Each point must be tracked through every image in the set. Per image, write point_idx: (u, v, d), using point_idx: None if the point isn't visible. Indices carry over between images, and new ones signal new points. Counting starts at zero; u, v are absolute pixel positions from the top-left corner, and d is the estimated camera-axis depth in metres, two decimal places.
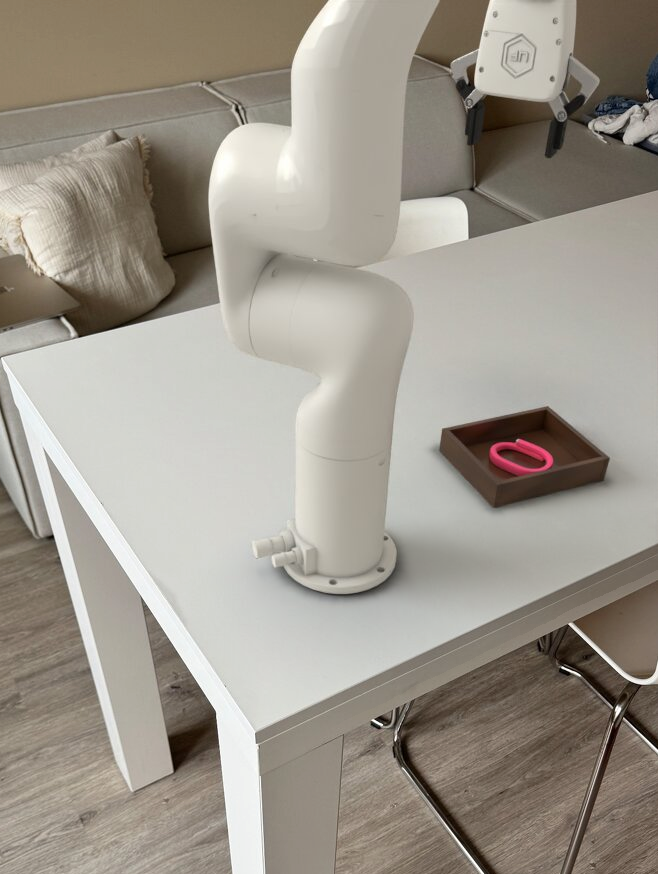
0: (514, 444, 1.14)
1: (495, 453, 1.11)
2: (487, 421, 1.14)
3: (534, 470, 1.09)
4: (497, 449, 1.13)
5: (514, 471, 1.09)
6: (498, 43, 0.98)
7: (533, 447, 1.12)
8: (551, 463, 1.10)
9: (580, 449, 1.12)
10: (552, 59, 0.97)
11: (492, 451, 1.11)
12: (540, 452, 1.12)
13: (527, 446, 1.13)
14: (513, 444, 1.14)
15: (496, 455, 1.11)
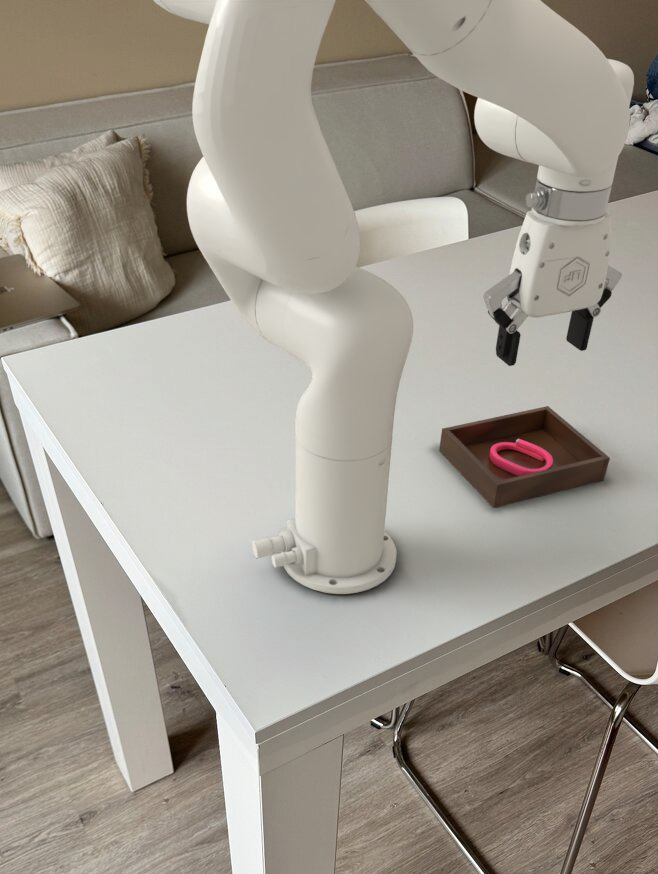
0: (514, 444, 1.14)
1: (495, 453, 1.11)
2: (487, 421, 1.14)
3: (534, 470, 1.09)
4: (497, 449, 1.13)
5: (514, 471, 1.09)
6: (554, 270, 0.93)
7: (533, 447, 1.12)
8: (551, 463, 1.10)
9: (580, 449, 1.12)
10: (601, 269, 0.95)
11: (492, 451, 1.11)
12: (540, 452, 1.12)
13: (527, 446, 1.13)
14: (513, 444, 1.14)
15: (496, 455, 1.11)
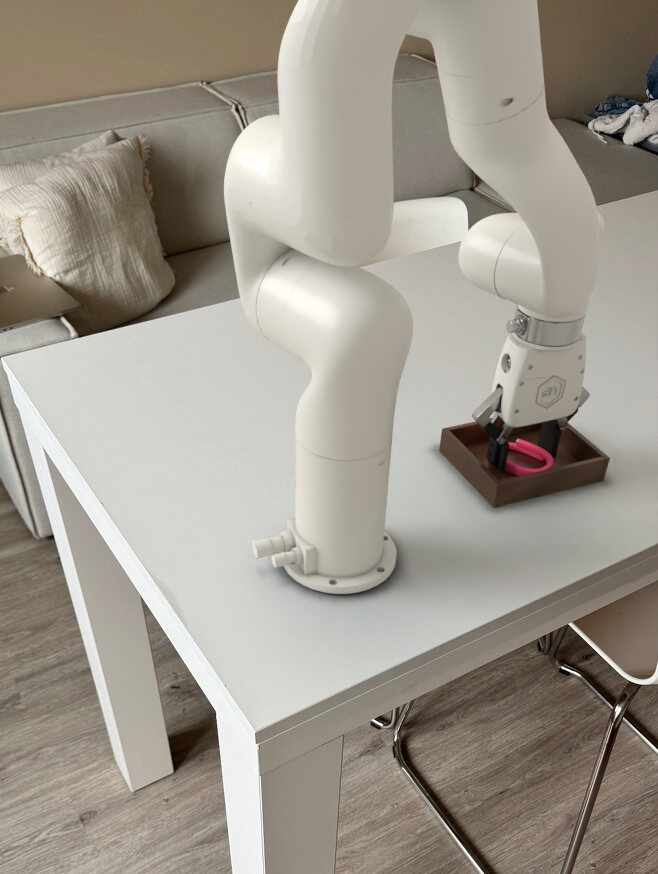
0: (514, 444, 1.14)
1: None
2: None
3: (534, 470, 1.09)
4: None
5: (514, 471, 1.09)
6: (532, 387, 1.01)
7: (533, 447, 1.12)
8: (551, 463, 1.10)
9: (580, 449, 1.12)
10: (576, 385, 1.03)
11: None
12: (540, 452, 1.12)
13: (527, 446, 1.13)
14: (513, 444, 1.14)
15: None
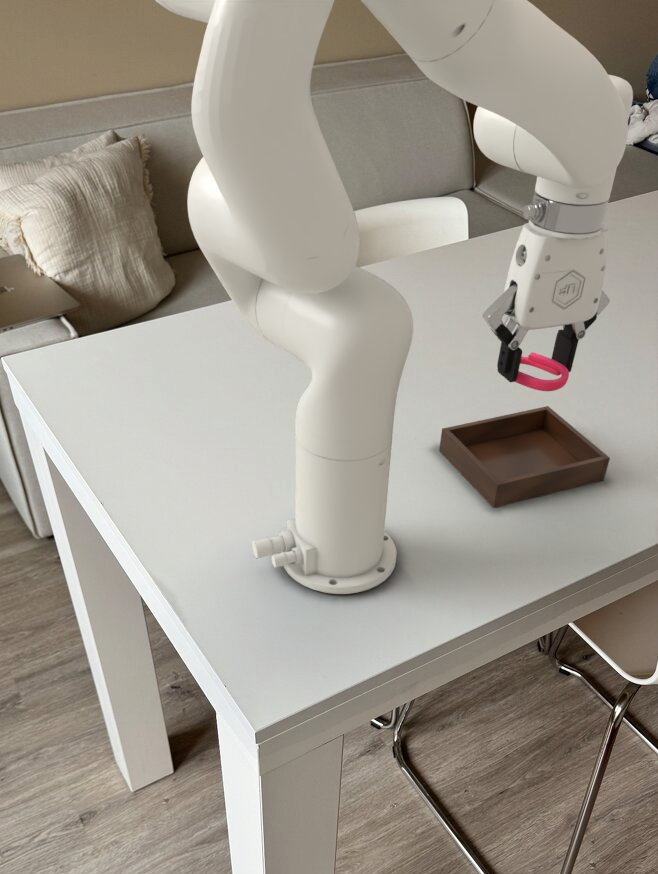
0: (526, 358, 1.06)
1: None
2: (487, 421, 1.14)
3: (548, 381, 1.00)
4: None
5: (527, 383, 1.01)
6: (549, 283, 0.93)
7: (547, 360, 1.04)
8: (567, 375, 1.01)
9: (580, 449, 1.12)
10: (596, 284, 0.96)
11: None
12: (554, 365, 1.04)
13: (540, 360, 1.04)
14: (525, 358, 1.06)
15: None
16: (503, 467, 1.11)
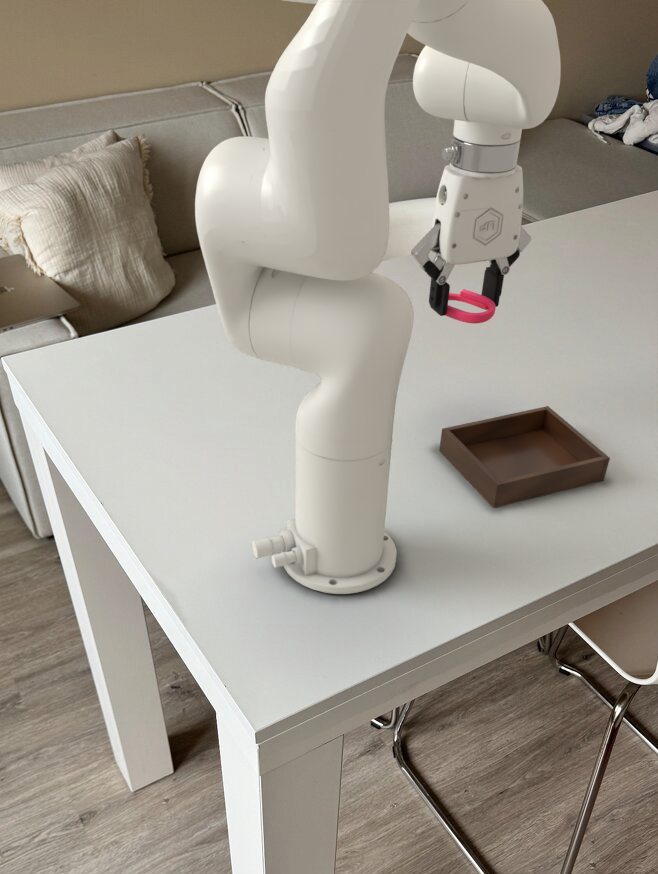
0: (458, 295, 1.14)
1: None
2: (487, 421, 1.14)
3: (475, 314, 1.09)
4: None
5: (456, 316, 1.10)
6: (469, 220, 1.01)
7: (477, 295, 1.12)
8: (493, 308, 1.10)
9: (580, 449, 1.12)
10: (515, 221, 1.04)
11: None
12: (483, 300, 1.12)
13: (471, 296, 1.13)
14: (457, 295, 1.14)
15: None
16: (503, 467, 1.11)
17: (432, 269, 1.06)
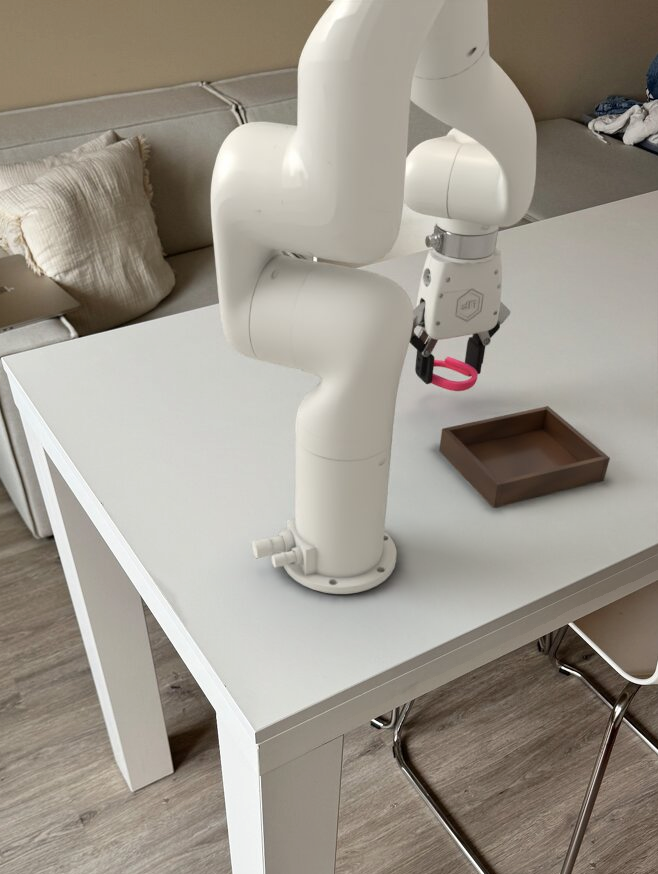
0: (443, 361, 1.22)
1: None
2: (487, 421, 1.14)
3: (458, 382, 1.17)
4: None
5: (440, 384, 1.18)
6: (452, 300, 1.09)
7: (460, 363, 1.20)
8: (475, 376, 1.18)
9: (580, 449, 1.12)
10: (494, 299, 1.12)
11: None
12: (466, 368, 1.20)
13: (454, 363, 1.21)
14: (442, 361, 1.22)
15: None
16: (503, 467, 1.11)
17: (418, 343, 1.13)
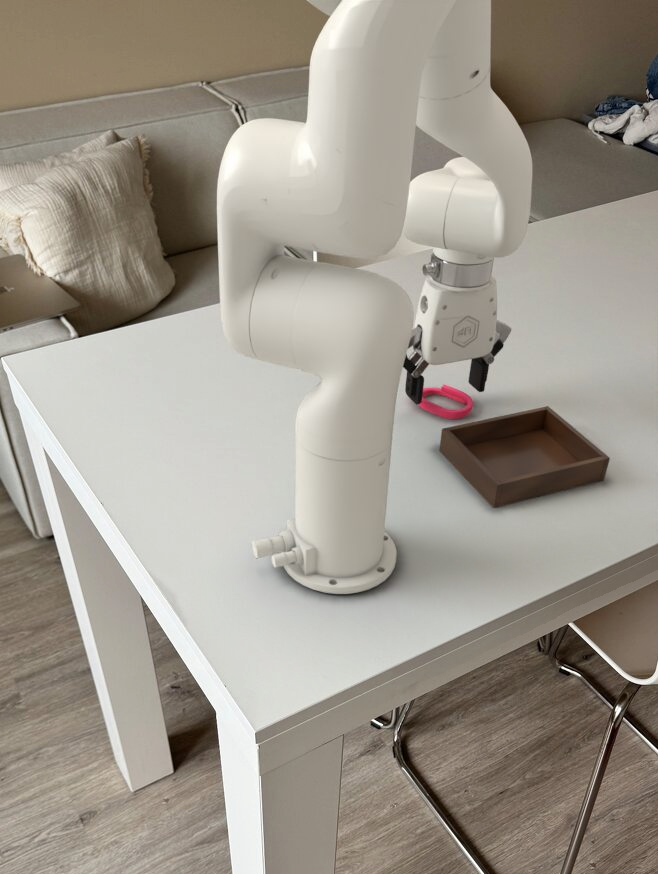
0: (439, 389, 1.25)
1: None
2: (487, 421, 1.14)
3: (454, 411, 1.19)
4: (423, 393, 1.23)
5: (437, 412, 1.20)
6: (448, 327, 1.11)
7: (456, 391, 1.23)
8: (471, 405, 1.20)
9: (580, 449, 1.12)
10: (490, 326, 1.14)
11: None
12: (462, 396, 1.22)
13: (450, 391, 1.23)
14: (439, 389, 1.24)
15: None
16: (503, 467, 1.11)
17: (407, 364, 1.15)
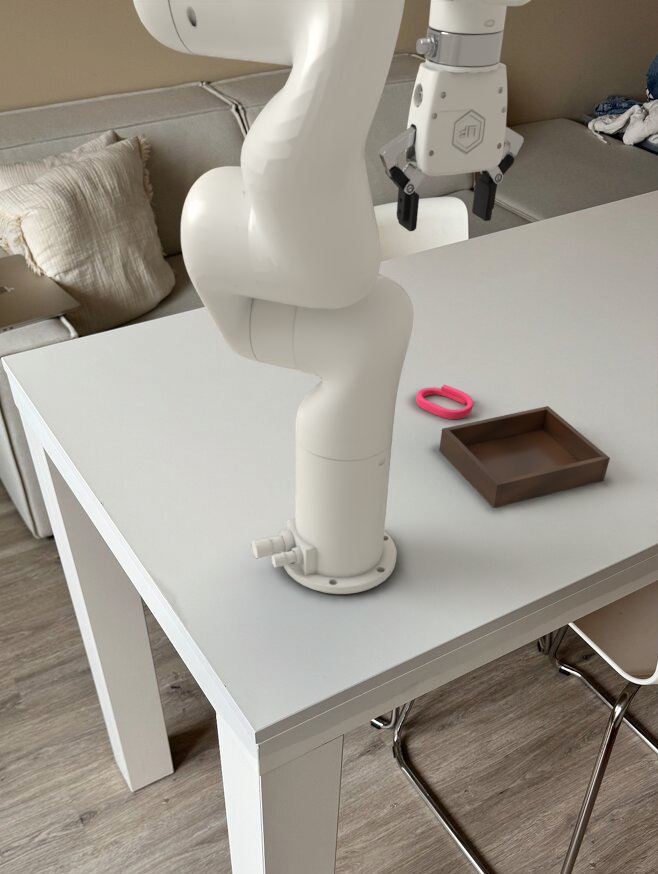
0: (439, 389, 1.25)
1: (421, 396, 1.22)
2: (487, 421, 1.14)
3: (454, 411, 1.19)
4: (423, 393, 1.23)
5: (437, 412, 1.20)
6: (448, 123, 0.92)
7: (456, 391, 1.23)
8: (471, 405, 1.20)
9: (580, 449, 1.12)
10: (498, 127, 0.94)
11: (418, 395, 1.22)
12: (462, 396, 1.22)
13: (450, 391, 1.23)
14: (439, 389, 1.24)
15: (421, 398, 1.22)
16: (503, 467, 1.11)
17: (399, 175, 0.95)
